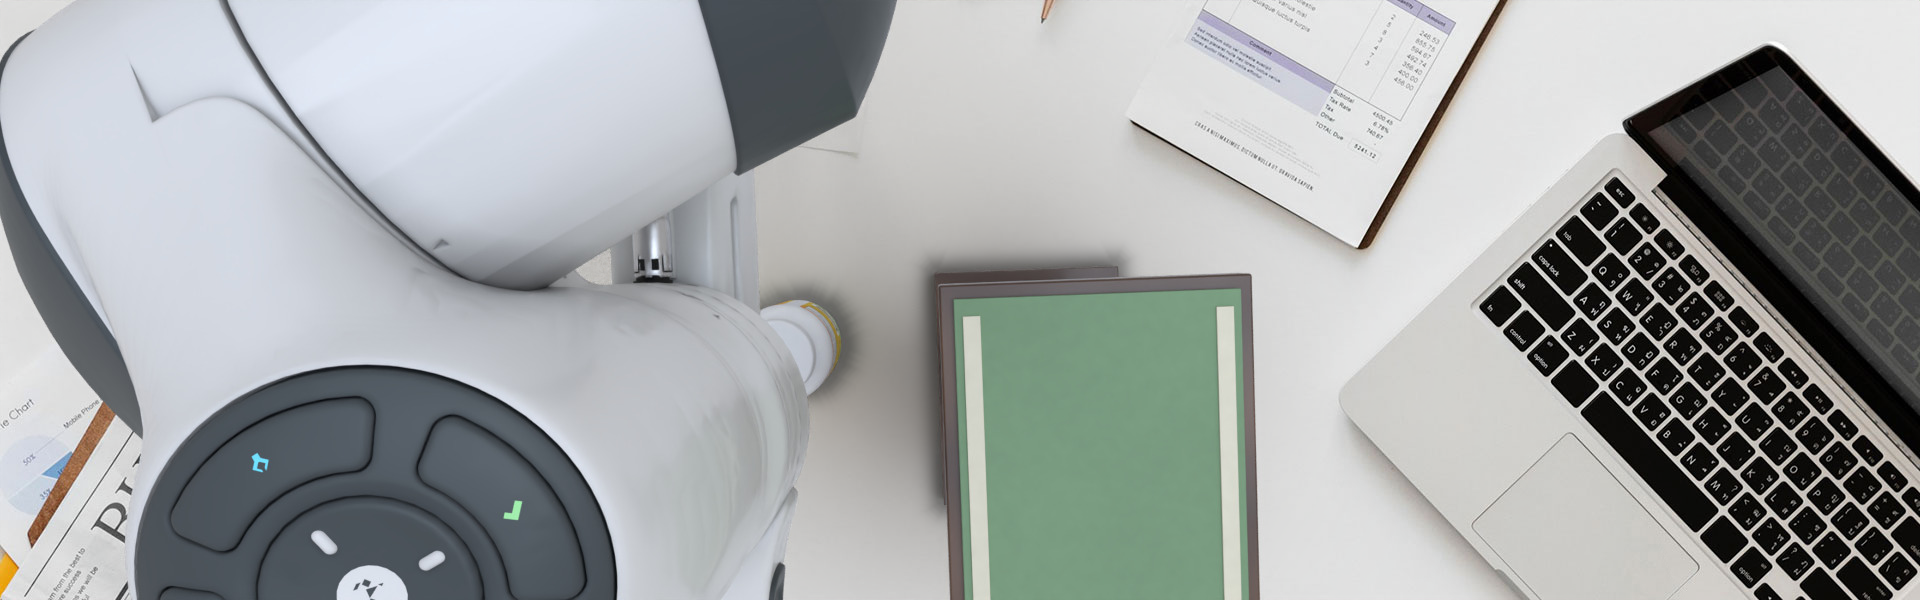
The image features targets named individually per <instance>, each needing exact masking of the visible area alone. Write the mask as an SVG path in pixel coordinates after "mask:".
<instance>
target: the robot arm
mask: <svg viewBox="0 0 1920 600" xmlns="http://www.w3.org/2000/svg"><path fill="white" fill-rule="evenodd" d="M897 2H898V0H74V1H72V2H71V3H70V4H68V5H66V6H65V7H63V8H62V9H60V10H59V11H58V12H56V13H55V14H53V15H52V16H51V17H50V18H48V19H46V21H44V22H43V23H42V24H40V25H39V26H38V27H37V28H35V29H32V30H31V31H28V32H26V33H24V34H23V35H22V36H20V37H18V38H17V39H16V40H15V41H14V42H13V43H12V44H11V45H10V46H9V47H8V49H7V50H6V51H5V53H4V54H3V55H2V57H1V59H0V221H1V224H2V227H3V231H4V235H5V238H6V240H7V244H8V247H9V250H10V253H11V256H12V259H13V261H14V264H15V267H16V270H17V272H18V275H19V277H20V279H21V281H22V284H23V286H24V287H25V289H26V291H27V293H28V295H29V297H30V299H31V301H32V303H33V304H34V306H35V308H36V310H37V312H38V314H39V315H40V317H41V319H42V321H43V322H44V324H45V327H46V328H47V330H48V331H49V333H50V335H51V337H53V339H54V340H55V342H56V343H57V345H58V347H59V348H60V349H61V351H62V353H63V354H64V356H65V357H66V358H67V359H68V361H69V362H70V364H71V365H72V366H73V367H74V369H75V370H76V371H77V372H78V374H79V375H80V376H81V378H82V379H83V380H84V381H85V382H86V384H87V385H88V386H89V388H91V390H92V391H93V392H94V393H95V394H96V395H97V396H98V397H99V398H100V400H101V401H102V402H103V403H104V404H105V405H106V407H108V408H109V410H110V411H112V413H114V414H115V415H116V416H117V418H118V419H120V420H121V421H122V422H123V423H124V424H125V425H126V426H127V427H128V429H130V430H131V431H132V432H133V433H134V434H135V435H136V436H137V437H138V438H140V439H141V441H142V442H141V443H142V444H141V450H140V458H139V462H138V466H137V469H136V474H135V478H134V482H133V486H132V490H131V495H130V499H129V503H128V509H127V516H126V522H125V536H124V561H125V572H126V575H125V576H126V581H127V589H128V593H129V594H128V595H129V597H130V600H784V591H785V577H786V565H785V564H784V563H785V558H786V557H785V556H786V550H787V545H788V544H787V543H788V540H789V536H790V535H789V534H790V530H791V527H792V524H793V523H792V522H793V519H794V515H795V511H796V508H797V503H798V500H799V491H798V489H797V488H796V487H795V486H796V484H797V481H798V479H799V477H800V475H801V472H802V470H803V466H804V464H805V460H806V455H807V451H808V446H809V439H810V426H811V425H810V423H811V421H810V419H811V418H810V405H809V401H808V396H807V393H806V389H805V385H804V382H803V378H802V376H801V373H800V371H799V368H798V366H797V364H796V362H795V360H794V358H793V356H792V354H791V352H790V350H789V349H788V347H787V346H786V344H785V343H784V341H783V340H782V339H781V337H780V336H779V335H778V334H777V332H776V331H775V330H774V329H773V328H772V327H771V326H770V325H769V324H768V323H767V322H766V321H765V320H764V319H763V318H762V317H761V316H760V310H761V300H760V280H759V279H760V278H759V256H758V255H759V254H758V253H759V252H758V232H757V231H758V229H757V213H756V212H757V211H756V210H757V209H756V207H757V206H756V188H755V187H756V185H755V168H757V167H760V166H761V165H763V164H766V163H767V162H769V161H771V160H773V159H775V158H777V157H779V156H782V155H783V154H785V153H787V152H789V151H791V150H793V149H795V148H797V147H798V146H801V145H803V144H805V143H807V142H809V141H811V140H813V139H815V138H817V137H818V136H821V135H823V134H825V133H828V132H829V131H831V130H832V129H835V128H837V127H839V126H840V125H843V124H845V123H847V122H849V121H851V120H853V119H855V118H856V117H857V115H858V113H859V111H860V108H861V106H862V104H863V101H864V99H865V97H866V95H867V93H868V90H869V88H870V86H871V83H872V82H873V79H874V76H875V73H876V71H877V68H878V65H879V64H880V63H879V62H880V60H881V57H882V54H883V51H884V49H885V46H886V43H887V39H888V36H889V32H890V30H891V26H892V22H893V20H894V19H893V18H894V15H895V11H896V8H897V7H896V6H897ZM607 250H610V251H609V252H610V271H611V284H602V283H601V284H600V283H596V282H591V281H589V280H588V279H586V278H585V277H583V276H582V275H581V274H580V273H579V272H578V271H577V269H579V268H580V267H582V266H584V265H585V264H587V263H588V262H590V261H592V260H593V259H595V258H597V256H600V255H601V254H603V253H604V252H606V251H607Z"/></svg>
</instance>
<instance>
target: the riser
mask: <svg viewBox="0 0 1920 600" xmlns="http://www.w3.org/2000/svg"><path fill="white" fill-rule="evenodd" d="M934 281H935V282H934V285H935V287H934V289H935V308H936V309H935V310H936V311H935V313H936V314H935V315H936V337H937V339H936V340H937V341H936V342H937V365H938V366H937V367H938V389H939V390H938V391H939V393H938V394H939V417H940V440H941V441H940V443H941V444H940V445H941V469H942V470H941V471H942V495H943V496H942V498H943V505H944V506H946V509H945V510H946V531H947V533H946V534H947V559H948V582H949V583H948V586H949V588H948V589H949V600H964V574H963V547H962V521H961V494H960V467H959V441H958V414H957V387H956V361H955V334H954V307H953V300H954V299H971V298H997V297H1023V296H1049V295H1075V294H1101V293H1127V292H1153V291H1179V290H1206V289H1232V288H1240V289H1241V310H1242V349H1243V388H1244V426H1245V465H1246V503H1247V542H1248V580H1249V600H1261V586H1260V585H1261V584H1260V583H1261V581H1260V547H1259V546H1260V545H1259V507H1258V503H1259V502H1258V467H1257V465H1258V464H1257V429H1256V426H1257V425H1256V391H1255V390H1256V387H1255V349H1254V346H1255V345H1254V310H1253V308H1254V307H1253V275H1252V274H1251V273H1250V272H1249V273H1248V272H1247V273H1246V272H1222V273H1194V274H1169V275H1168V274H1167V275H1145V276H1144V275H1143V276H1142V275H1141V276H1140V275H1139V276H1120V277H1119V266H1118V265H1108V266H1107V265H1105V266H1104V265H1103V266H1077V267H1076V266H1075V267H1055V268H1053V267H1051V268H1050V267H1049V268H1025V269H1001V270H999V269H998V270H971V271H970V270H969V271H948V272H947V271H945V272H944V271H943V272H935V273H934Z"/></svg>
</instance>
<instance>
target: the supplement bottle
mask: <svg viewBox="0 0 1920 600" xmlns="http://www.w3.org/2000/svg"><path fill="white" fill-rule="evenodd" d="M760 316H761V317H762V318H763V319H764V320H765V321H766V322H767V323H768V324H769V325H770V326H771V327H772V328H773V329H774V330H775V331H776V332H777V334H778V335H779V336H780V337H781V339H782V340H783V341H784V343H785V344H786V346H787V347H788V349H789V350H790V352H791V354H792V356H793V358H794V360H795V362H796V364H797V366H798V368H799V371H800V373H801V376H802V378H803V382H804V385H805V389H806V393H807V397H808V396H809V395H811V394H813V393H814V392H815V391H816V390H818V388H820V386H821V385H822V384H823V383H824V382H825V381H826V379H828V377H829V376H830V375H831V373H832V372H833V371H834V369H835V368H836V366H837V364H838V362H839V359H840V357H841V353H842V335H841V332H840V328H839V326H838V323H837V322H836V320H835V318H834V317H833V316H832V315H831V314H830V313H829V312H828V311H827V310H826V309H825V308H824V307H823V306H820V305H819V304H817V303H815V302H812V301H809V300H804V299H790V300H786V301H782V302H779V303H776V304H772V305H769V306H766V307H764V308H762V309H760Z"/></svg>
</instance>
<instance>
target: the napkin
mask: <svg viewBox="0 0 1920 600" xmlns="http://www.w3.org/2000/svg"><path fill="white" fill-rule="evenodd" d="M953 307H954V334H955V361H956V387H957V414H958V441H959V467H960V494H961V521H962V547H963V574H964V600H1249V580H1248V542H1247V503H1246V465H1245V426H1244V388H1243V349H1242V310H1241V289H1240V288H1232V289H1206V290H1179V291H1153V292H1127V293H1101V294H1075V295H1049V296H1023V297H997V298H971V299H954V300H953Z"/></svg>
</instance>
